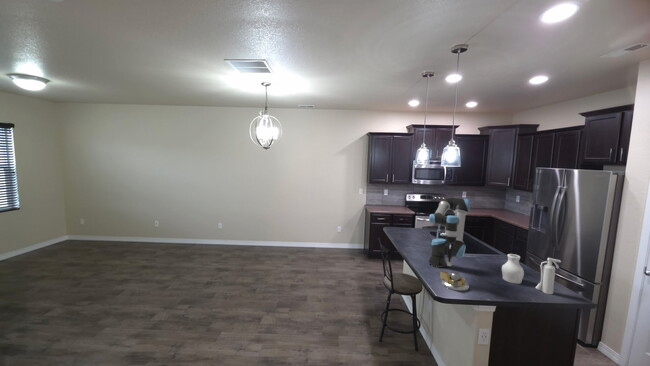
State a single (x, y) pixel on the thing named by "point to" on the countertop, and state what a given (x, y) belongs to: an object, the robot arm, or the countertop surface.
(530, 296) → the countertop surface
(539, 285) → the fire extinguisher
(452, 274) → the flange
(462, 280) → the gold crown ring
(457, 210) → the robot arm
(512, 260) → the vase
